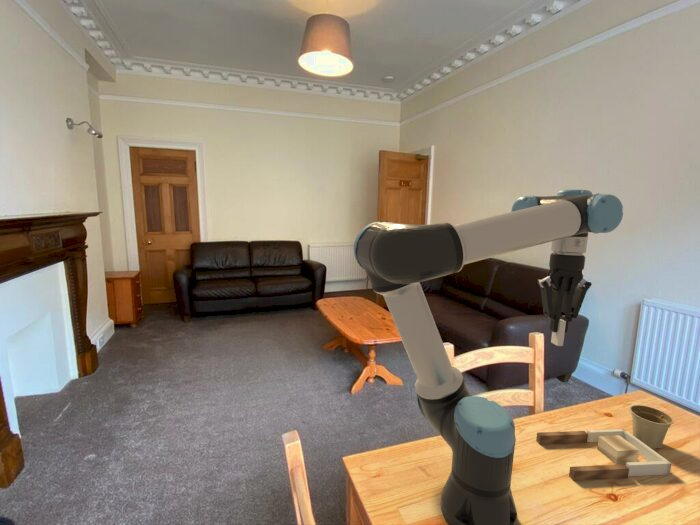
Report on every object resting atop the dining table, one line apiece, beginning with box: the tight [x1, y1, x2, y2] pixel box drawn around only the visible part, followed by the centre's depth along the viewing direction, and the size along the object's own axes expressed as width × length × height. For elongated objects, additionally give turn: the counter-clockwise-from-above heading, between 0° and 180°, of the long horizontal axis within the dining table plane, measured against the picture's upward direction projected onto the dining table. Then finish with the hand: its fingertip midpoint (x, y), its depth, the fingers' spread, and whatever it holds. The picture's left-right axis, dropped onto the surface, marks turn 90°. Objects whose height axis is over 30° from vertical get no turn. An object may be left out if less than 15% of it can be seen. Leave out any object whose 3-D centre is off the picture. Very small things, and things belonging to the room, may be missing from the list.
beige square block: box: [596, 435, 639, 465], centre depth 95 cm, size 6×6×4 cm
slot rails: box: [535, 430, 629, 482], centre depth 94 cm, size 14×15×2 cm
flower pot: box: [629, 404, 675, 450], centre depth 100 cm, size 9×9×9 cm
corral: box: [586, 428, 672, 477], centre depth 95 cm, size 11×14×3 cm
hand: (556, 344), depth 92 cm, fingers closed
